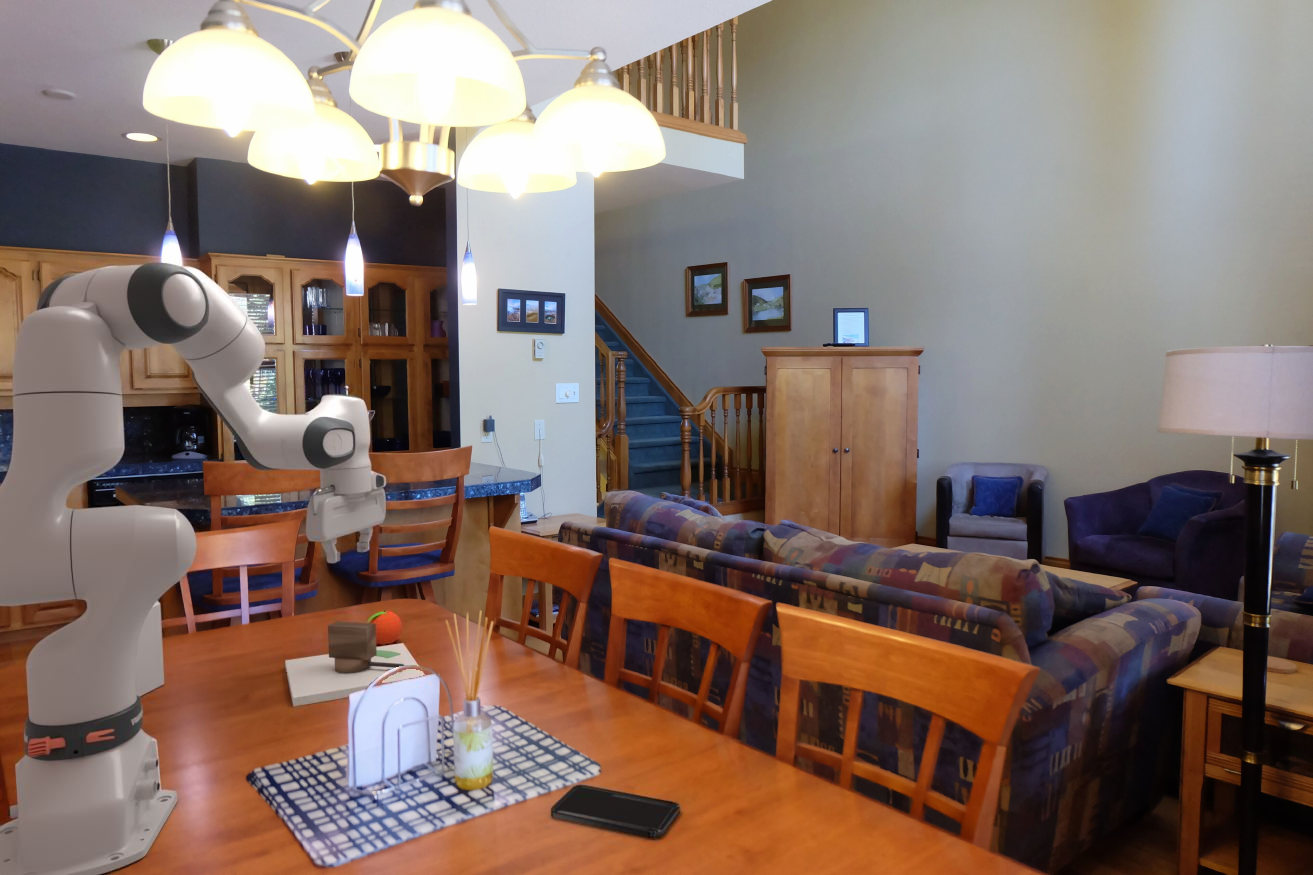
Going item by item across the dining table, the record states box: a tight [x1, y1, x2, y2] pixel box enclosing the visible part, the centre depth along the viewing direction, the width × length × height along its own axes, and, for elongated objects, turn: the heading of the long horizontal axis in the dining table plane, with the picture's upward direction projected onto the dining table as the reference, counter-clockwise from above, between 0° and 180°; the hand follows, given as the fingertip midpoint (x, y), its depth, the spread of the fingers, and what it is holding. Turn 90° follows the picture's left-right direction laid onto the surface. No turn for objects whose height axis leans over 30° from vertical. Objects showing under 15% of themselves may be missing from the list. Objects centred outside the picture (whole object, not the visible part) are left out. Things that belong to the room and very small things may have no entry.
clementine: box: [366, 610, 403, 646], centre depth 174 cm, size 8×7×7 cm
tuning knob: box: [327, 620, 404, 673], centre depth 154 cm, size 6×14×8 cm, turn 77°
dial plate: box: [284, 642, 426, 707], centre depth 155 cm, size 22×22×2 cm
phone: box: [550, 784, 681, 840], centre depth 104 cm, size 8×1×15 cm
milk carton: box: [136, 600, 165, 698], centre depth 148 cm, size 7×7×19 cm
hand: (348, 556), depth 154 cm, fingers open, 8 cm apart
